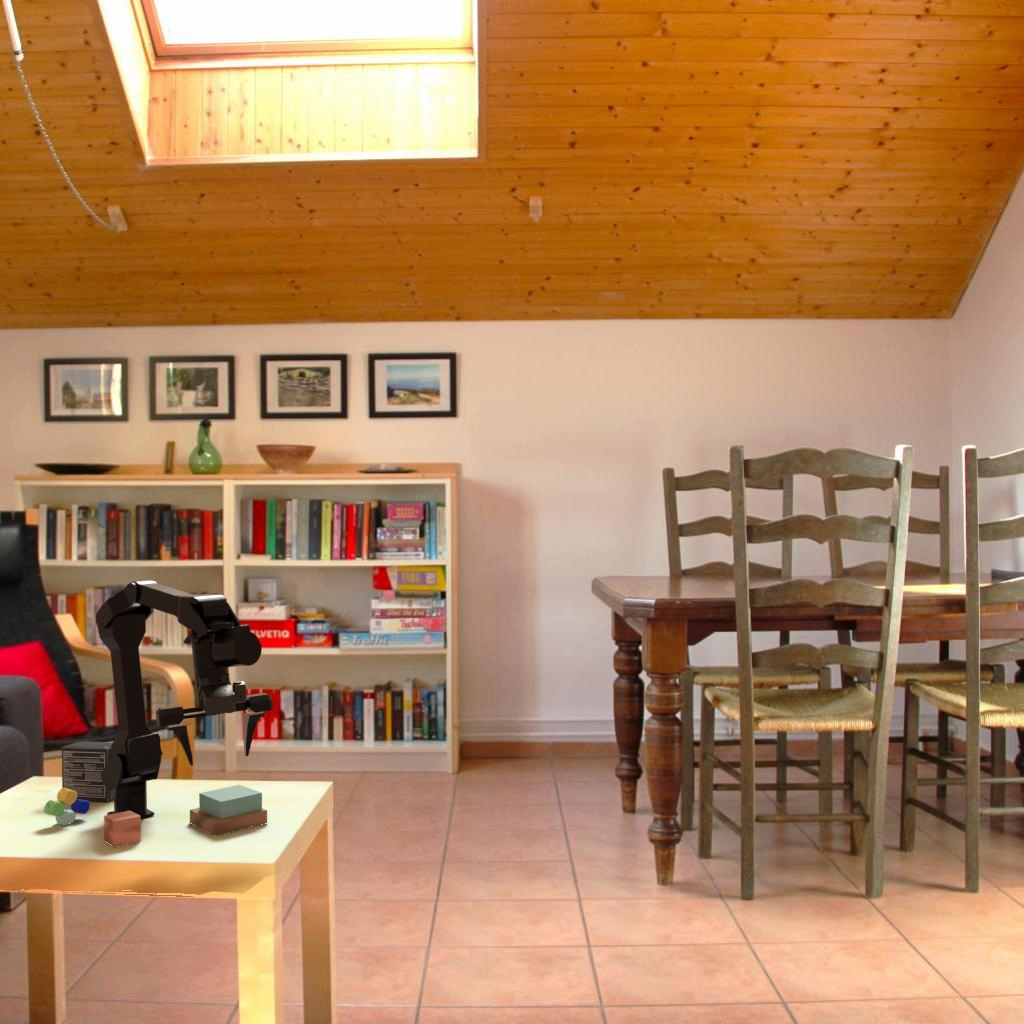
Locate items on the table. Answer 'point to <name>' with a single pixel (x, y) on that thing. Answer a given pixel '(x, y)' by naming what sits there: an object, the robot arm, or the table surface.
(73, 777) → the small box
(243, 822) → the tower base
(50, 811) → the multicolored block cluster
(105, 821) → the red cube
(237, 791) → the tower top
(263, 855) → the table surface
